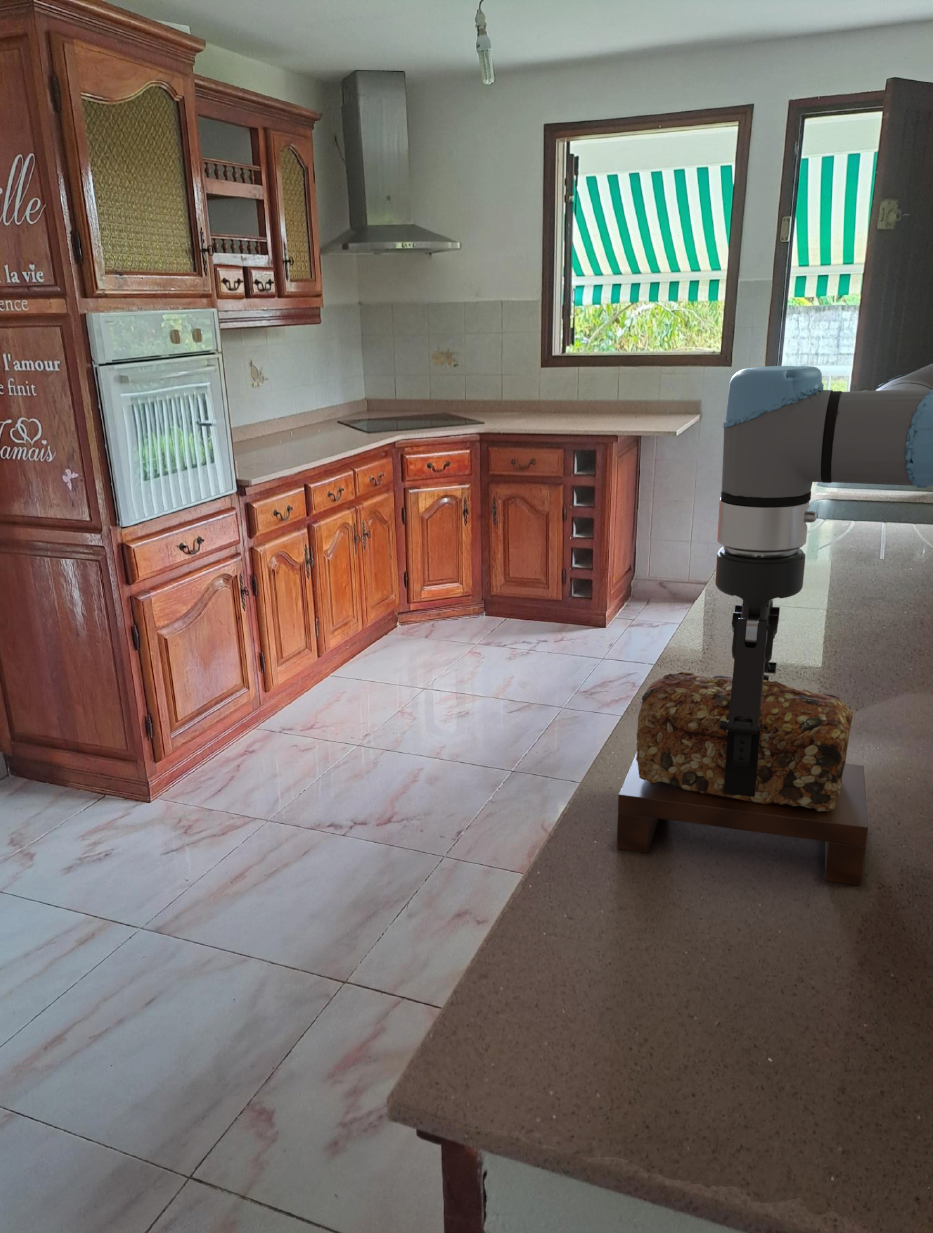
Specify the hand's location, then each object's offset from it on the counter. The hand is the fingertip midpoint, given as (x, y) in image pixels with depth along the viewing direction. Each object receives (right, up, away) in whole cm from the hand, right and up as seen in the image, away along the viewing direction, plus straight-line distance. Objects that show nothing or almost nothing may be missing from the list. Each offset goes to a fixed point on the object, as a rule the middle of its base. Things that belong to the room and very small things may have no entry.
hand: (745, 762), depth 93 cm
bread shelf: (0, -7, +3) cm, 8 cm away
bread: (0, -2, +1) cm, 2 cm away
